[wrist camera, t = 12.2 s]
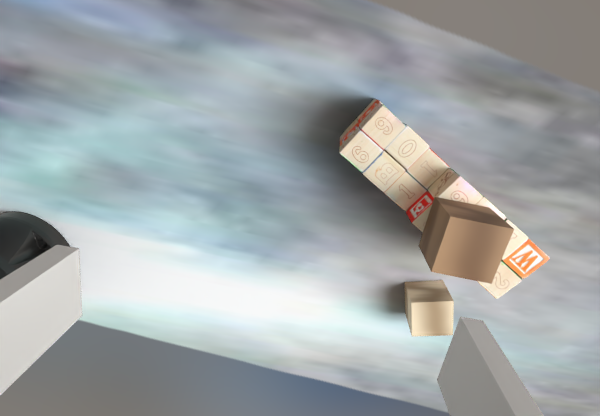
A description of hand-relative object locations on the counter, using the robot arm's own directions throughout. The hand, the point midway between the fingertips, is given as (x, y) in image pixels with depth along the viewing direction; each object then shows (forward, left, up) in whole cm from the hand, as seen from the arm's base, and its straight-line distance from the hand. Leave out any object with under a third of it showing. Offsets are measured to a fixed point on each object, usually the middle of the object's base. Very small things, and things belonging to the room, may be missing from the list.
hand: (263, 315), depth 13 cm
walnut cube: (+14, -3, -22) cm, 27 cm away
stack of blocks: (+13, -2, -35) cm, 37 cm away
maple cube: (+18, -18, -35) cm, 43 cm away
